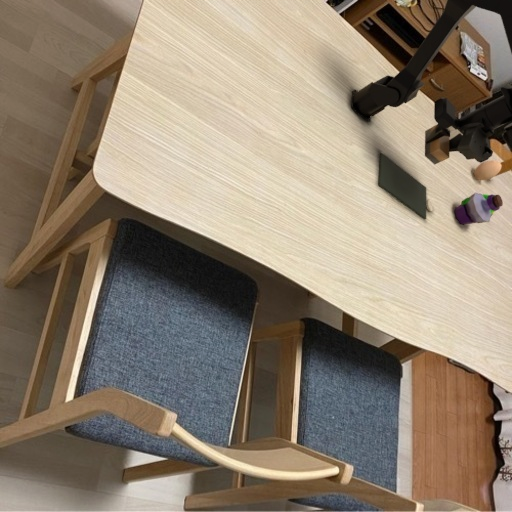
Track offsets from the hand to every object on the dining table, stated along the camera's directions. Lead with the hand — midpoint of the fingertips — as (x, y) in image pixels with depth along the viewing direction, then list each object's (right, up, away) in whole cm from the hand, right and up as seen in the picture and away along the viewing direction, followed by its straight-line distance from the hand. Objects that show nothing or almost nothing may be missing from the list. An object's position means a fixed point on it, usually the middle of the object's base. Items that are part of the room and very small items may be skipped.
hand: (431, 146), depth 137 cm
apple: (+23, -13, +31) cm, 41 cm away
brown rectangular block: (0, 0, 0) cm, 0 cm away
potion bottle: (+14, -15, +22) cm, 30 cm away
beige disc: (+3, -13, +12) cm, 18 cm away
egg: (+24, -2, +36) cm, 44 cm away
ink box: (+14, +9, +31) cm, 35 cm away
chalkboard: (-5, -9, +7) cm, 12 cm away
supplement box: (+29, -1, +41) cm, 51 cm away
